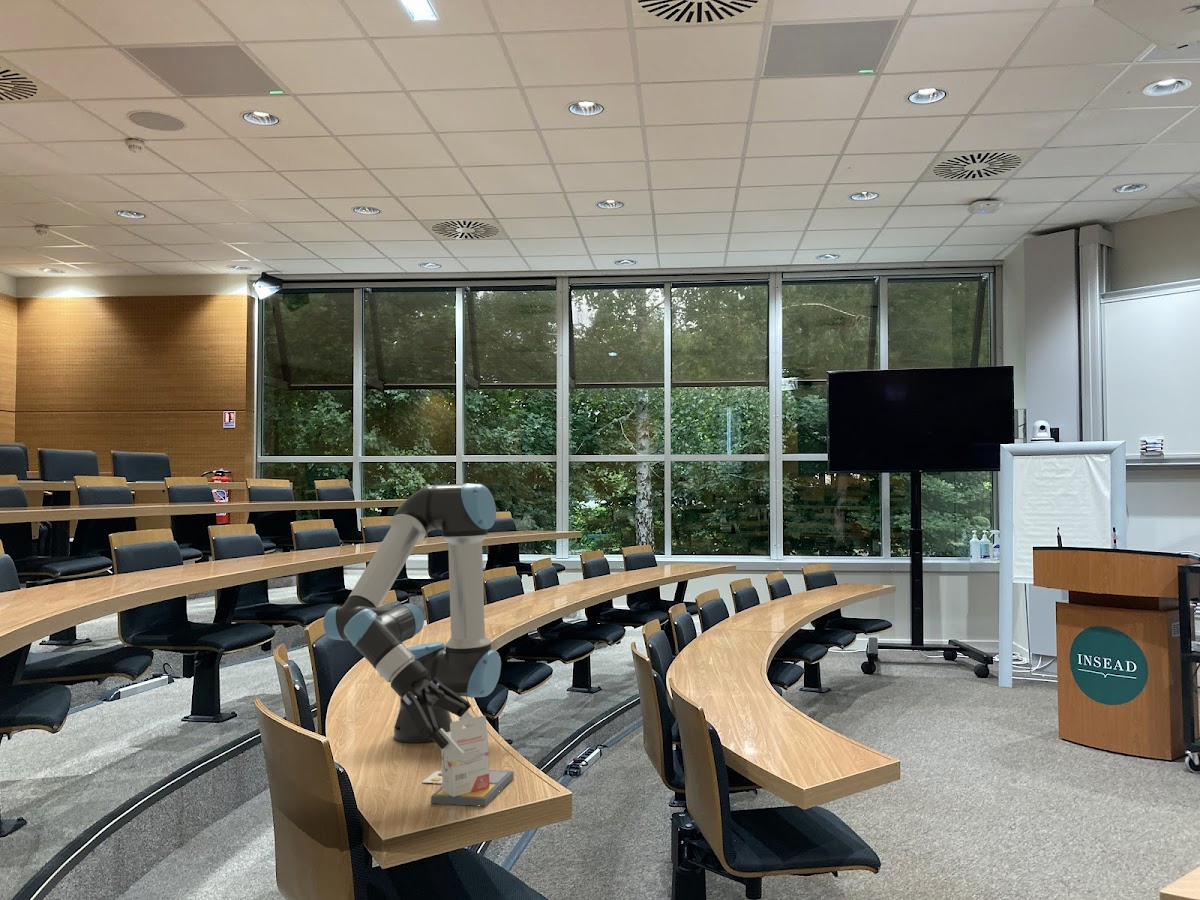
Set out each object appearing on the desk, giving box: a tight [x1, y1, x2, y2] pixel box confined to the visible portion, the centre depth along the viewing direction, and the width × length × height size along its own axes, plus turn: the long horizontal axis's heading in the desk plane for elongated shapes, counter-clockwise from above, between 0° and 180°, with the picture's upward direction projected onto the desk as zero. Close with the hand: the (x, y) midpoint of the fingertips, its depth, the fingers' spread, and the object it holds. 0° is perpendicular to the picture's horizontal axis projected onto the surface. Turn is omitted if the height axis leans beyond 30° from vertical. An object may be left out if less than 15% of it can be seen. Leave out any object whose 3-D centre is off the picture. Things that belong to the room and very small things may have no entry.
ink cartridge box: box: [440, 715, 490, 797], centre depth 170 cm, size 9×5×15 cm, turn 125°
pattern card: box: [421, 770, 442, 785], centre depth 182 cm, size 7×5×1 cm
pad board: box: [430, 769, 515, 807], centre depth 174 cm, size 17×12×2 cm
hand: (472, 747), depth 170 cm, fingers open, 13 cm apart
